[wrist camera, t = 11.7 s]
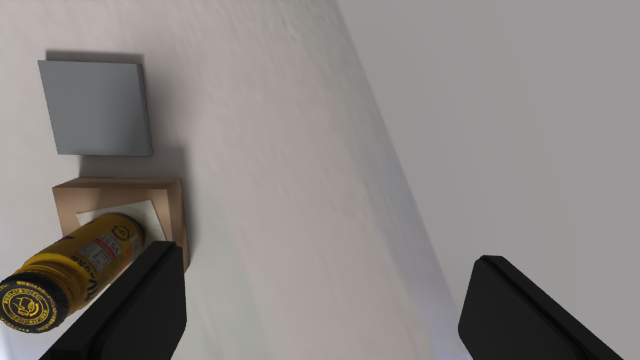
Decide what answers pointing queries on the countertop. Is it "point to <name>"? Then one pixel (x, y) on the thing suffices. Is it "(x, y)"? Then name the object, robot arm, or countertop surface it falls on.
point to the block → (124, 203)
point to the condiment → (77, 266)
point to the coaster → (97, 108)
